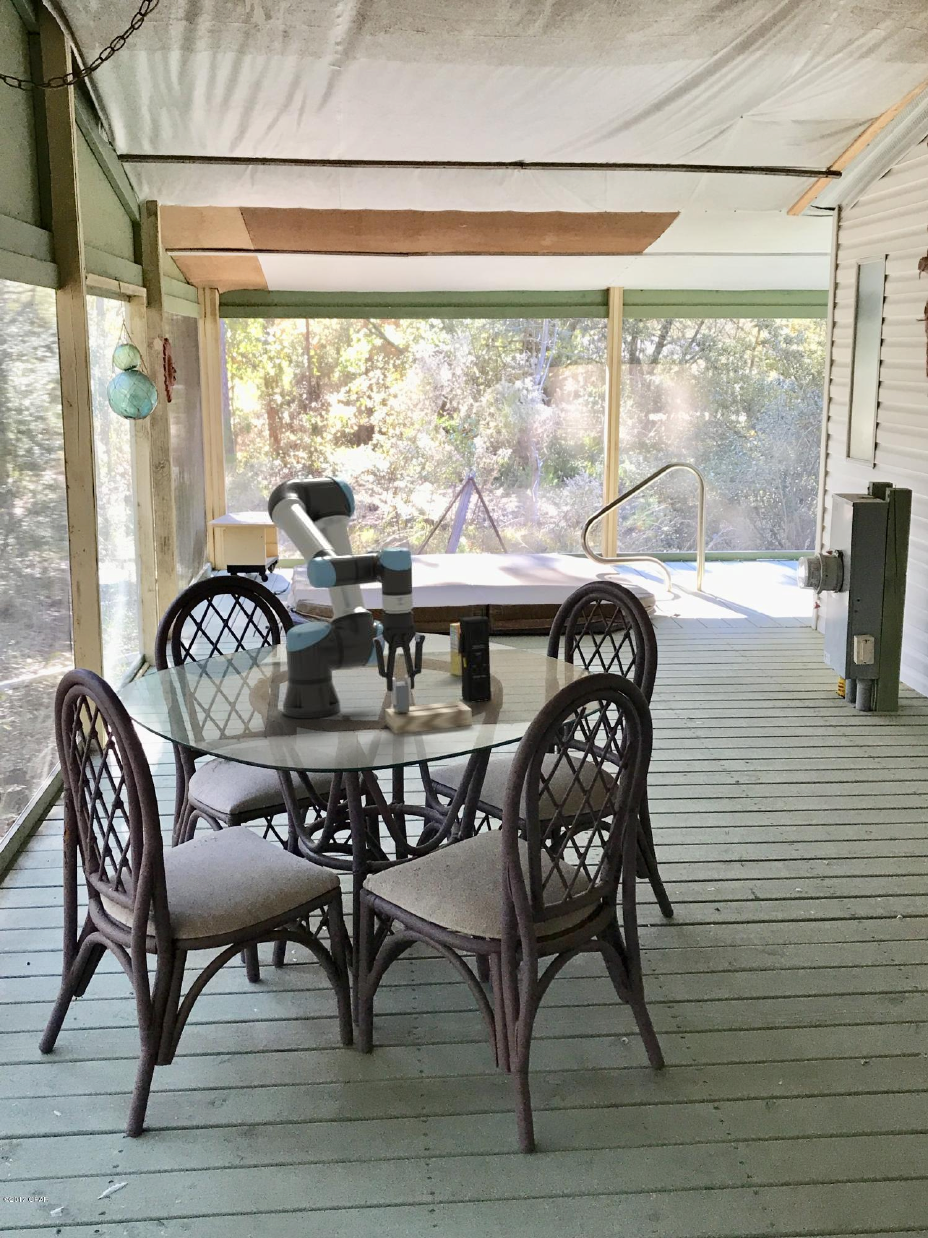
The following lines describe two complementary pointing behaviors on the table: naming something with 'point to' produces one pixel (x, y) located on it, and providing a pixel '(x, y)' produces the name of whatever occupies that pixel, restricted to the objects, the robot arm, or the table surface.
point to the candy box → (455, 649)
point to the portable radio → (475, 658)
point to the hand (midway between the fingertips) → (401, 702)
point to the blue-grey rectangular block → (402, 697)
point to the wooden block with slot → (429, 717)
